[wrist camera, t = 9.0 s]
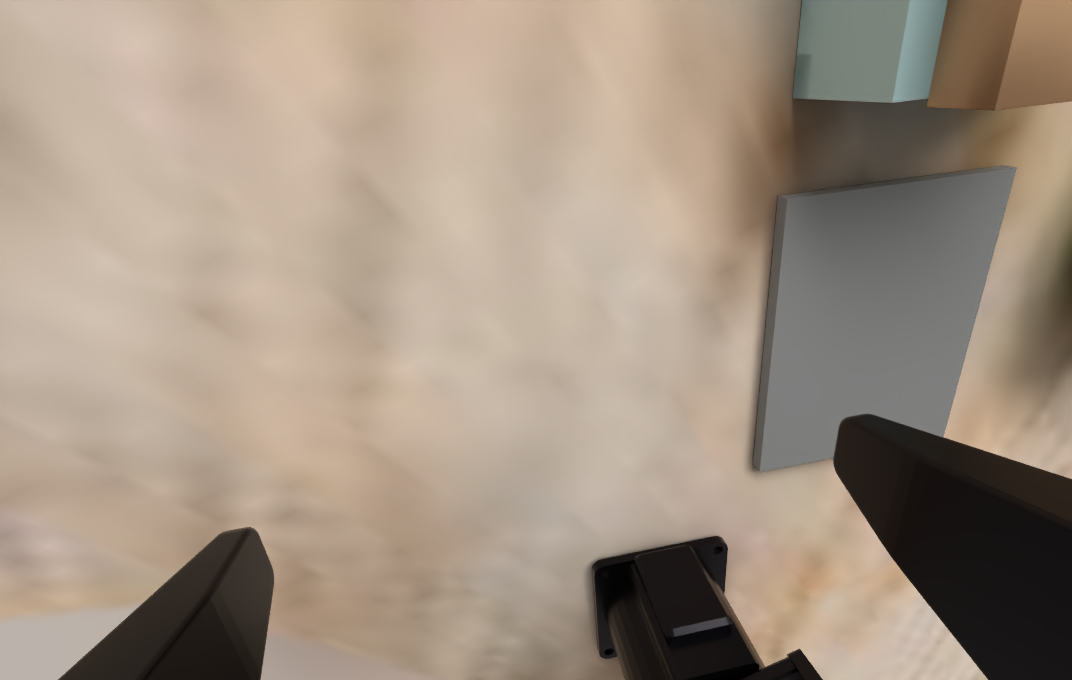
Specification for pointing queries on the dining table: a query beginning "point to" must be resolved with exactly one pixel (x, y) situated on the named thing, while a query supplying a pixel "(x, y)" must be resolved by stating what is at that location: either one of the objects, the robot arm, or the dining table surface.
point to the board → (1003, 55)
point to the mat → (872, 306)
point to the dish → (867, 49)
